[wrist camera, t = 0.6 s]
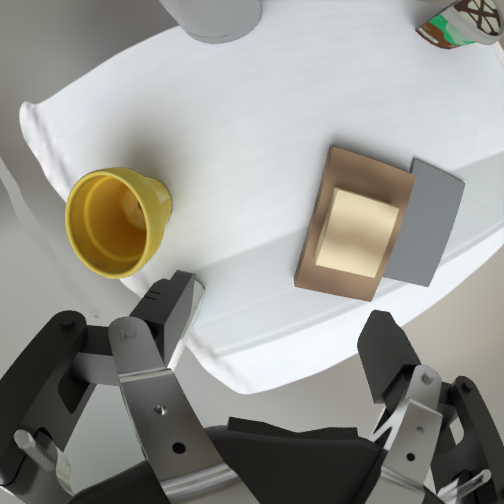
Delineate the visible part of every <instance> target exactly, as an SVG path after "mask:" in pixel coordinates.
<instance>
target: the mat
mask: <svg viewBox="0 0 504 504" xmlns="http://www.w3.org/2000/svg"><path fill="white" fill-rule="evenodd" d="M410 174H413V175H415V176H416V177H415V181H414V185H413V188H412V192H411V195H410V199H409V202H408V206H407V209H406V212H405V215H404V218H403V221H402V224H401V227H400V230H399V233H398V236H397V239H396V242H395V244H394V247H393V250H392V252H391V255H390V258H389V260H388V263H387V265H386V268H385V270H384V273H383V275H382V277H386V278H391V279H395V280H399V281H404V282H408V283H412V284H417V285H421V286H425V287H429V285H430V283H431V280H432V278H433V276H434V274H435V271H436V269H437V267H438V264H439V262H440V259H441V257H442V254H443V252H444V249H445V247H446V244H447V241H448V239H449V236H450V233H451V230H452V227H453V224H454V221H455V218H456V215H457V212H458V208H459V205H460V202H461V198H462V194H463V191H464V187H465V183H463V182H461V181H460V180H458V179H456V178H454V177H452V176H450V175H448V174H446V173H444V172H442V171H440V170H438V169H436V168H434V167H432V166H430V165H428V164H426V163H423V162H421V161H419V160H417V159H413V162H412V166H411V170H410Z"/></svg>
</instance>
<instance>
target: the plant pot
mask: <svg viewBox="0 0 504 504" xmlns="http://www.w3.org/2000/svg"><path fill="white" fill-rule="evenodd" d="M171 213H172V200H171V196H170V194H169V192H168V190H167V188H166V187H165V186H164V185H163V184H162V183H161V182H159V181H157V180H156V179H153V178H149V177H143V176H142V175H141V174H139V173H137V172H136V171H133V170H131V169H127V168H107V169H101V170H96V171H93V172H90V173H88V174H86V175H85V176H83V177H82V178H81V179H80V180H79V181H78V182H77V183H76V184H75V185H74V187H73V188H72V190H71V192H70V194H69V197H68V200H67V204H66V210H65V225H66V231H67V235H68V238H69V241H70V244H71V246H72V248H73V250H74V251H75V253H76V255H77V256H78V258H79V259H80V260H81V261H82V262H83V264H85V266H87V267H88V268H89V269H90V270H91V271H93V272H94V273H96V274H98V275H100V276H103V277H106V278H111V279H120V278H125V277H128V276H131V275H133V274H134V273H136V272H137V271H138V270H139V269H141V268H142V267H143V266H144V265H145V264H146V263H147V262H148V261H149V260H150V259H151V258H152V256H153V255H154V254H155V253H156V251H157V250H158V248H159V246H160V244H161V241H162V238H163V234H164V227H165V226H166V224H167V222H168V221H169V219H170V216H171Z"/></svg>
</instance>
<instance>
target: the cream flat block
mask: <svg viewBox="0 0 504 504" xmlns="http://www.w3.org/2000/svg"><path fill="white" fill-rule="evenodd" d="M398 212H399V208H397V207H395V206H394V205H392V204H389V203H386V202H383V201H380V200H377V199H374V198H370V197H367V196H364V195H361V194H358V193H354V192H351V191H348V190H344V189H341V188H337V187H333V191H332V195H331V199H330V202H329V206H328V209H327V213H326V216H325V220H324V223H323V227H322V230H321V234H320V237H319V240H318V243H317V247H316V250H315V253H314V256H313V258H314V261H315V264H316V265H319V266H323V267H328V268H332V269H337V270H341V271H346V272H350V273H354V274H359V275H363V276H368V277H372V278H375V275H376V273H377V270H378V268H379V265H380V263H381V260H382V258H383V255H384V252H385V250H386V247H387V244H388V241H389V239H390V236H391V233H392V230H393V227H394V224H395V221H396V218H397V215H398Z"/></svg>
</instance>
